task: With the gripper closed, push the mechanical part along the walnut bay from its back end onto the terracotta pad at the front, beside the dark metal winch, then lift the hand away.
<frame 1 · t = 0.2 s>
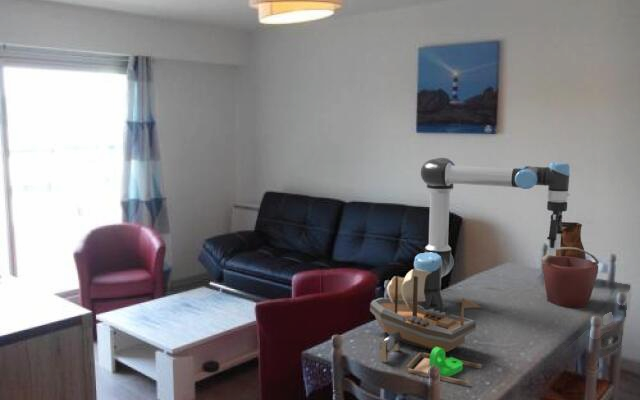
hand: (554, 252, 236), 28 cm above the table, tool pointing down, fingers open, 13 cm apart
bay: (435, 368, 191), on the table
bucket: (566, 302, 261), on the table
winch: (390, 355, 201), on the table
sailing ship: (422, 343, 212), on the table
pitcher: (564, 281, 294), on the table
mechanical part: (447, 371, 189), on the table, touching bay
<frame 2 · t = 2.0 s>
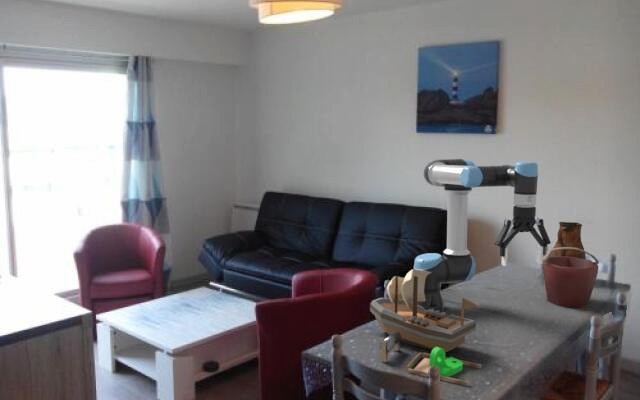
hand: (521, 264, 205), 30 cm above the table, tool pointing down, fingers open, 13 cm apart
nothing on the table moved.
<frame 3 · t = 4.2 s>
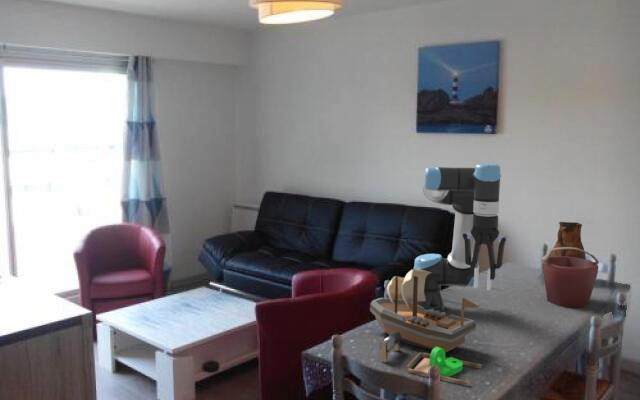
hand: (482, 288, 180), 30 cm above the table, tool pointing down, fingers open, 3 cm apart
nothing on the table moved.
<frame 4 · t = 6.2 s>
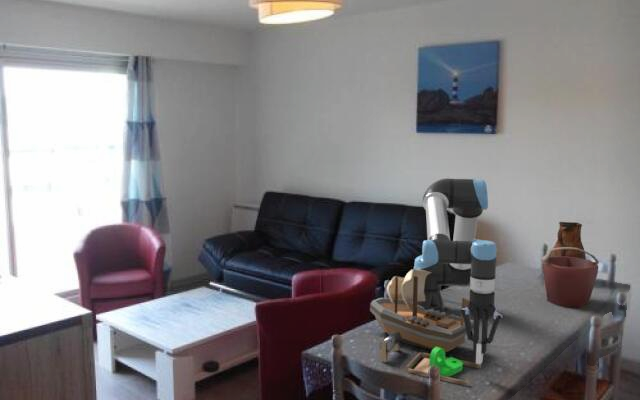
hand: (479, 362, 183), 5 cm above the table, tool pointing down, fingers closed
nothing on the table moved.
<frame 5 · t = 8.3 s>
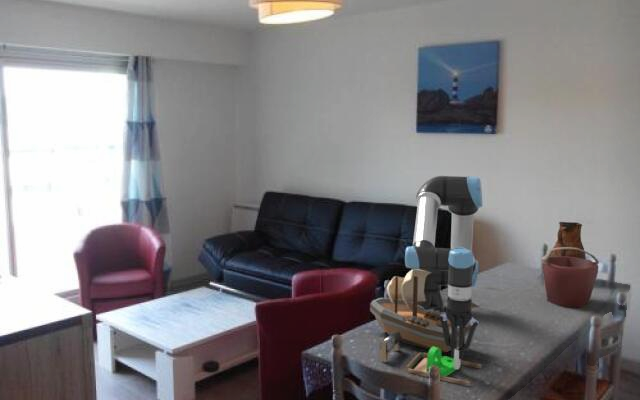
hand: (456, 367, 187), 2 cm above the table, tool pointing down, fingers closed
mechanical part: (443, 370, 189), on the table, touching gripper
everything else where it was.
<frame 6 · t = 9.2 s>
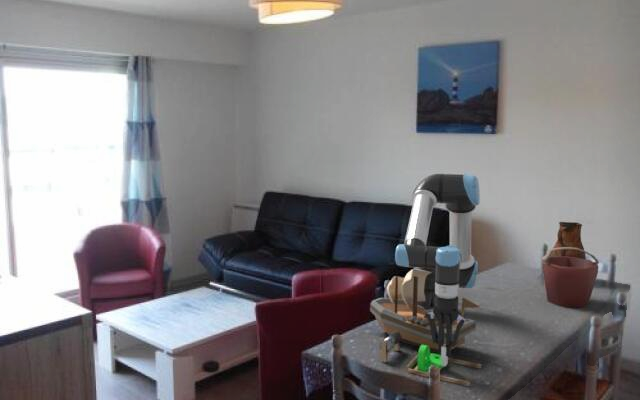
hand: (444, 364, 189), 2 cm above the table, tool pointing down, fingers closed
mechanical part: (432, 367, 191), on the table, touching bay, gripper
everything else where it was.
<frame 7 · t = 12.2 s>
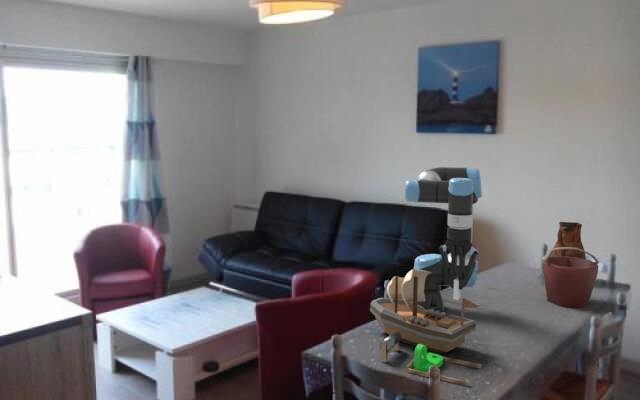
hand: (456, 298, 186), 24 cm above the table, tool pointing down, fingers closed
mechanical part: (429, 366, 192), resting on bay
everything else where it was.
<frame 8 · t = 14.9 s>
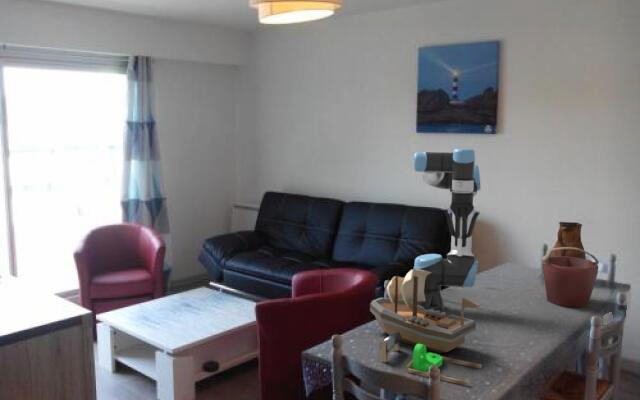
hand: (460, 255, 211), 32 cm above the table, tool pointing down, fingers closed
nothing on the table moved.
at the end: mechanical part inside the target area (0.9 cm from its centre), resting on bay; mechanical part tilted 0°; mechanical part moved 6.4 cm from its start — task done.
